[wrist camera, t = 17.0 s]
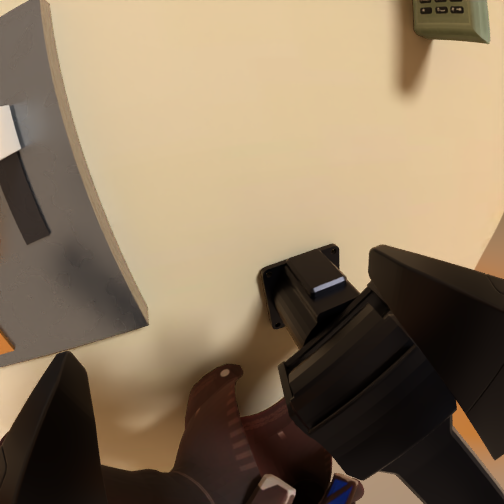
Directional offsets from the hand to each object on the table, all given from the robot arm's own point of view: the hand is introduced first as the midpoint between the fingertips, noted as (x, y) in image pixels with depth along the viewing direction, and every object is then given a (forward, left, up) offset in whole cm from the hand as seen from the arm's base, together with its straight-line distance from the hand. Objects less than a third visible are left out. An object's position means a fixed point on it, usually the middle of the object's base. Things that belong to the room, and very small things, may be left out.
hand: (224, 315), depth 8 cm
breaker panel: (+3, +14, -12) cm, 19 cm away
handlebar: (-24, +2, -12) cm, 27 cm away
